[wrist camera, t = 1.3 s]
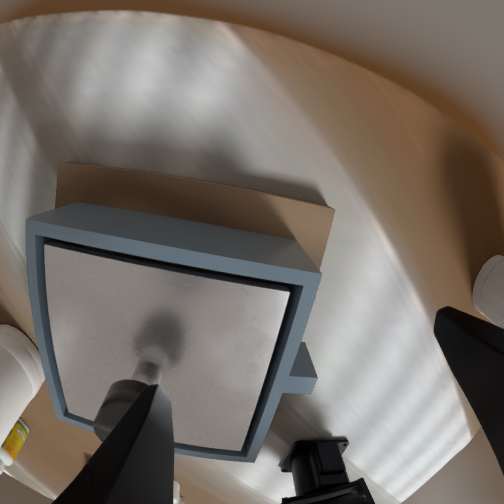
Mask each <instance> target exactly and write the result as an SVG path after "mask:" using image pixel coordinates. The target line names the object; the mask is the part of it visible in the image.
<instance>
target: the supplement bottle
mask: <svg viewBox="0 0 504 504" xmlns="http://www.w3.org/2000/svg"><path fill="white" fill-rule="evenodd" d="M28 434H29V429H28V427H27V425H26V424H25V422H24V421H23V420H22V419H21V418H20V417H19V418H18V420H17V421H16V423H15V424H14V426H13V428H12V429H11V431H10V432H9V434H8V436H7V437H6V439H5V440H4V442H3V444H2V445H1V447H0V474H2V472H3V470H4V465H11V464H12V463H13V462H14V460H15V458H16V456H17V454H18V452H19V450H20V448H21V447H22V445H23V443H24V441H25V439H26V438H27V436H28Z"/></svg>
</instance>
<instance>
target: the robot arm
mask: <svg viewBox="0 0 504 504" xmlns="http://www.w3.org/2000/svg"><path fill="white" fill-rule="evenodd" d="M434 334H435V337H436V339H437V341H438V343H439V345H440V347H441V349H442V351H443V354H444V356H445V358H446V360H447V362H448V365H449V367H450V369H451V371H452V373H453V374H454V376H455V378H456V380H457V381H458V383H459V385H460V387H461V388H462V390H463V392H464V394H465V396H466V397H467V399H468V401H469V403H470V405H471V407H472V409H473V410H474V412H475V414H476V416H477V418H478V420H479V422H480V424H481V426H482V428H483V430H484V432H485V434H486V436H487V438H488V441H489V443H490V445H491V447H492V449H493V451H494V454H495V455H496V458H497V460H498V463H499V465H500V467H501V470H502V472H503V475H504V329H503V328H501V327H499V326H496V325H494V324H491V323H489V322H487V321H484V320H482V319H479V318H477V317H474V316H472V315H469V314H467V313H465V312H462V311H460V310H457V309H455V308H452V307H450V306H446V307H443V308H441V309H439V310H438V311H437V313H436V318H435V323H434ZM348 445H349V442H348V440H328V441H297V442H296V443H295V444H294V446H293V448H292V449H291V451H290V453H289V455H288V457H287V459H286V460H285V462H284V464H283V466H282V467H281V471H282V472H292V475H293V481H294V486H295V492H296V496H295V497H290V498H287V497H286V498H282V503H281V504H375V502H374V500H373V498H372V496H371V494H370V492H369V489H368V487H367V485H366V483H365V481H364V479H363V478H360V479H358V480H356V481H353V482H350V481H349V478H348V475H347V472H346V467H345V464H344V461H343V458H342V453H343V452H344V451H345V449H346V448H347V446H348ZM173 487H174V433H173V419H172V405H171V401H170V399H169V397H168V396H167V394H166V393H165V391H164V390H163V389H162V387H161V386H160V385H159V384H152V385H147V386H146V387H145V388H144V389H143V390H142V392H141V393H140V394H139V396H138V397H137V398H136V399H135V401H134V402H133V403H132V405H131V406H130V407H129V409H128V410H127V411H126V413H125V414H124V415H123V416H122V418H121V419H120V420H119V422H118V423H117V424H116V426H115V427H114V428H113V430H112V431H111V432H110V433H109V435H108V436H107V437H106V439H105V440H104V441H103V443H102V444H101V445H100V447H99V448H98V449H97V450H96V452H95V453H94V454H93V456H92V457H91V458H90V460H89V461H88V463H87V464H86V465H85V466H84V467H83V469H82V470H81V471H80V473H79V474H78V475H77V476H76V477H75V479H74V480H73V481H72V482H71V483H70V484H69V486H68V487H67V488H66V489H65V490H64V491H63V492H62V493H61V494H60V495H59V496H58V497H57V498H56V499H55V500H54V502H53V503H52V504H173Z"/></svg>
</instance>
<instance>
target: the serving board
mask: <svg viewBox="0 0 504 504" xmlns="http://www.w3.org/2000/svg"><path fill="white" fill-rule="evenodd" d="M76 202H83V203H89V204H95V205H101V206H108V207H114V208H120V209H126V210H132V211H138V212H144V213H149V214H155V215H161V216H167V217H173V218H178V219H184V220H189V221H195V222H201V223H206V224H212V225H217V226H223V227H228V228H233V229H239V230H244V231H249V232H255V233H260V234H265V235H270V236H276V237H281V238H286V239H291V240H296V241H298V243H299V244H300V245H301V246H302V248H303V249H304V250H305V252H306V253H307V254H308V256H309V257H310V258H311V260H312V261H313V263H314V264H315V265H316V267H317V268H318V269H320V266H321V262H322V259H323V255H324V251H325V248H326V244H327V240H328V236H329V233H330V229H331V225H332V221H333V217H334V213H335V209H333V208H331V207H329V206H325V205H321V204H317V203H313V202H308V201H304V200H299V199H295V198H290V197H286V196H281V195H277V194H272V193H267V192H262V191H257V190H252V189H247V188H242V187H237V186H231V185H226V184H221V183H215V182H209V181H204V180H198V179H192V178H186V177H180V176H173V175H167V174H160V173H153V172H146V171H139V170H132V169H124V168H116V167H108V166H99V165H90V164H81V163H71V162H68V163H59V169H58V179H57V189H56V203H55V209H57V208H60V207H63V206H66V205H69V204H72V203H76ZM84 249H88V250H92V251H97V252H102V253H106V254H111V255H116V256H121V257H126V258H131V259H136V260H141V261H146V262H151V263H156V264H161V265H166V266H172V267H177V268H182V269H187V270H193V271H198V272H204V273H209V274H215V275H220V276H226V277H231V278H237V279H243V280H249V281H255V282H260V283H266V284H272V285H275V284H276V281H272V280H266V279H260V278H254V277H249V276H243V275H237V274H232V273H226V272H220V271H215V270H209V269H204V268H198V267H193V266H188V265H182V264H177V263H172V262H166V261H161V260H156V259H151V258H146V257H141V256H136V255H131V254H126V253H121V252H116V251H111V250H106V249H101V248H96V247H91V246H87V245H84Z"/></svg>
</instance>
